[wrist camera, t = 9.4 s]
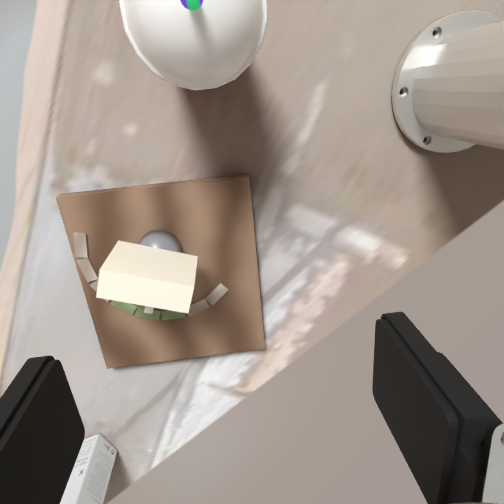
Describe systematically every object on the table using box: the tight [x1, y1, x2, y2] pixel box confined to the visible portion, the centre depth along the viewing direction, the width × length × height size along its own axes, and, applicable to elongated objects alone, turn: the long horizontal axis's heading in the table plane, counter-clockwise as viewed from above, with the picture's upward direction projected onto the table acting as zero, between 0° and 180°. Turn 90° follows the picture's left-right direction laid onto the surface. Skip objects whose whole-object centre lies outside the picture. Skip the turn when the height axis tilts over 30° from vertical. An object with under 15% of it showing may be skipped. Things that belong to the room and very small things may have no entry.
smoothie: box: [119, 0, 268, 90], centre depth 25 cm, size 8×8×20 cm
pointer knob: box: [96, 230, 198, 314], centre depth 37 cm, size 10×8×9 cm
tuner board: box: [56, 174, 265, 369], centre depth 42 cm, size 19×21×2 cm
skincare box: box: [60, 434, 117, 504], centre depth 47 cm, size 6×4×12 cm
